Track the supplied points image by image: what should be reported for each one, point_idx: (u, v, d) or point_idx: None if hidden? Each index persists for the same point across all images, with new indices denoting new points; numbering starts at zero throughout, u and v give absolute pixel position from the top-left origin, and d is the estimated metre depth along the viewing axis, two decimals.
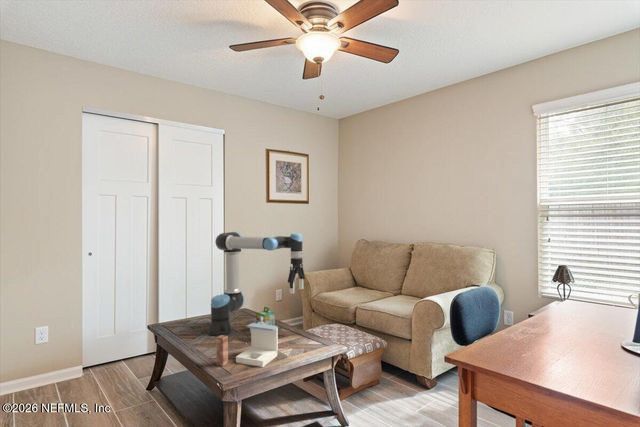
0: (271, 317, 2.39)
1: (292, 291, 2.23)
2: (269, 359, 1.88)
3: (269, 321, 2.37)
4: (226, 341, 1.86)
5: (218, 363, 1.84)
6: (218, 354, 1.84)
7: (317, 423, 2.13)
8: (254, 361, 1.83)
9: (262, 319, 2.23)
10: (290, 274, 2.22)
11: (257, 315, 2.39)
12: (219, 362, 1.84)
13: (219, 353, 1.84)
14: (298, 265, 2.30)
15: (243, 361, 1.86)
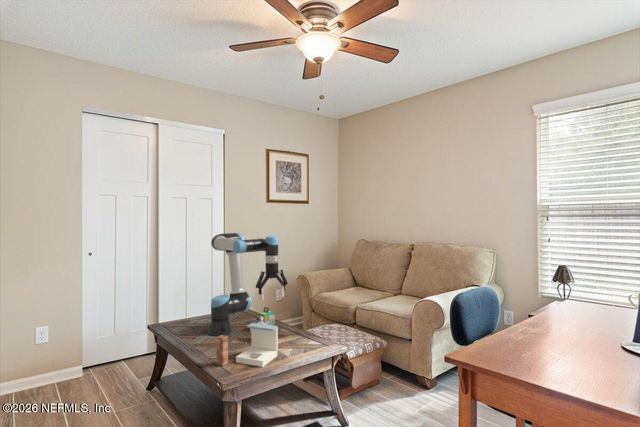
0: (271, 317, 2.39)
1: (261, 298, 2.08)
2: (269, 359, 1.88)
3: (269, 321, 2.37)
4: (226, 341, 1.86)
5: (218, 363, 1.84)
6: (218, 354, 1.84)
7: (317, 423, 2.13)
8: (254, 361, 1.83)
9: (262, 319, 2.23)
10: (259, 279, 2.08)
11: (257, 315, 2.39)
12: (219, 362, 1.84)
13: (219, 353, 1.84)
14: (273, 270, 2.12)
15: (243, 361, 1.86)
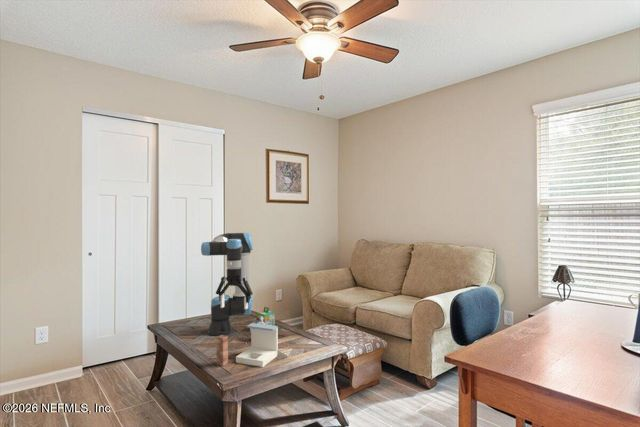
0: (271, 317, 2.39)
1: None
2: (269, 359, 1.88)
3: (269, 321, 2.37)
4: (226, 341, 1.86)
5: (218, 363, 1.84)
6: (218, 354, 1.84)
7: (317, 423, 2.13)
8: (254, 361, 1.83)
9: (262, 319, 2.23)
10: None
11: (257, 315, 2.39)
12: (219, 362, 1.84)
13: (219, 353, 1.84)
14: (234, 277, 1.90)
15: (243, 361, 1.86)
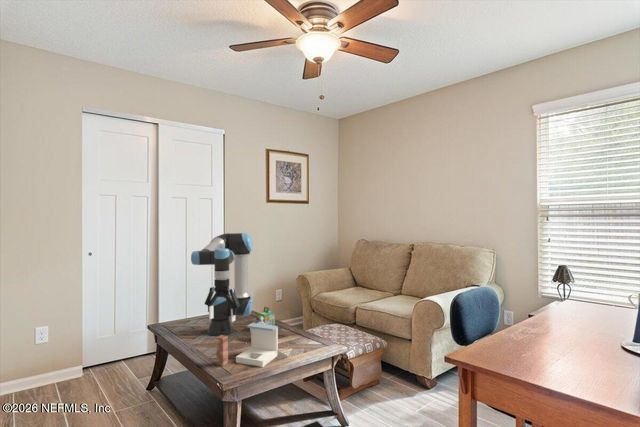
0: (271, 317, 2.39)
1: None
2: (269, 359, 1.88)
3: (269, 321, 2.37)
4: (226, 341, 1.86)
5: (218, 363, 1.84)
6: (218, 354, 1.84)
7: (317, 423, 2.13)
8: (254, 361, 1.83)
9: (262, 319, 2.23)
10: None
11: (257, 315, 2.39)
12: (219, 362, 1.84)
13: (219, 353, 1.84)
14: (221, 288, 1.84)
15: (243, 361, 1.86)
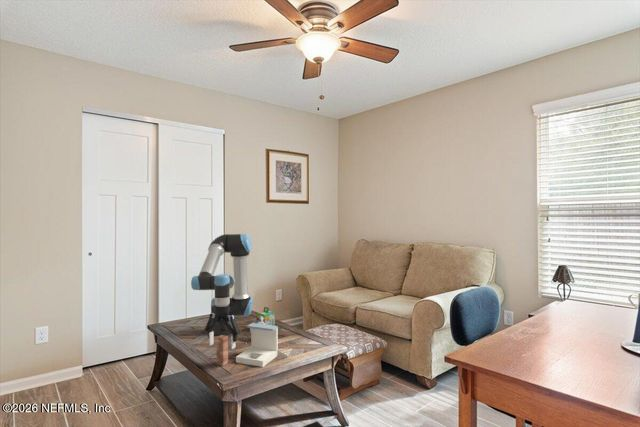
0: (271, 317, 2.39)
1: None
2: (269, 359, 1.88)
3: (269, 321, 2.37)
4: (226, 341, 1.86)
5: (218, 363, 1.84)
6: (218, 354, 1.84)
7: (317, 423, 2.13)
8: (254, 361, 1.83)
9: (262, 319, 2.23)
10: None
11: (257, 315, 2.39)
12: (219, 362, 1.84)
13: (219, 353, 1.84)
14: (221, 315, 1.84)
15: (243, 361, 1.86)
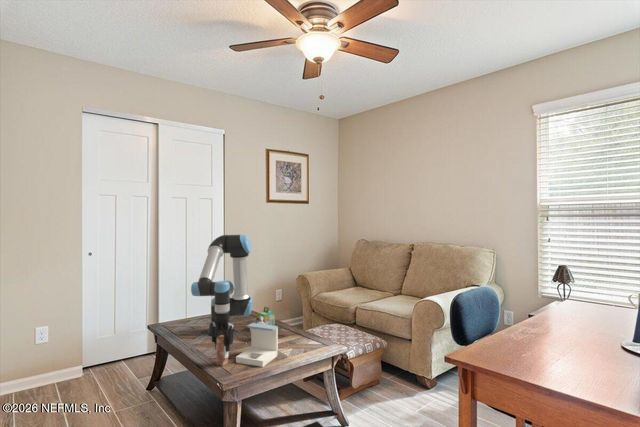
0: (271, 317, 2.39)
1: None
2: (269, 359, 1.88)
3: (269, 321, 2.37)
4: None
5: (218, 363, 1.84)
6: (218, 354, 1.84)
7: (317, 423, 2.13)
8: (254, 361, 1.83)
9: (262, 319, 2.23)
10: None
11: (257, 315, 2.39)
12: (219, 362, 1.84)
13: (219, 353, 1.84)
14: (221, 321, 1.84)
15: (243, 361, 1.86)
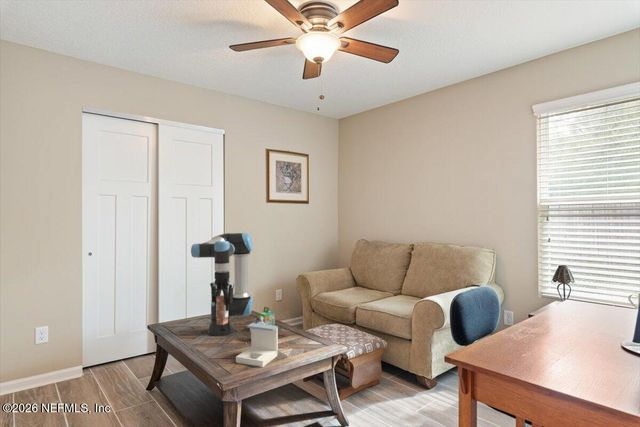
0: (271, 317, 2.39)
1: None
2: (269, 359, 1.88)
3: (269, 321, 2.37)
4: None
5: (218, 322, 1.84)
6: (218, 313, 1.84)
7: (317, 423, 2.13)
8: (254, 361, 1.83)
9: (262, 319, 2.23)
10: None
11: (257, 315, 2.39)
12: (219, 321, 1.84)
13: (219, 312, 1.84)
14: (221, 281, 1.84)
15: (243, 361, 1.86)
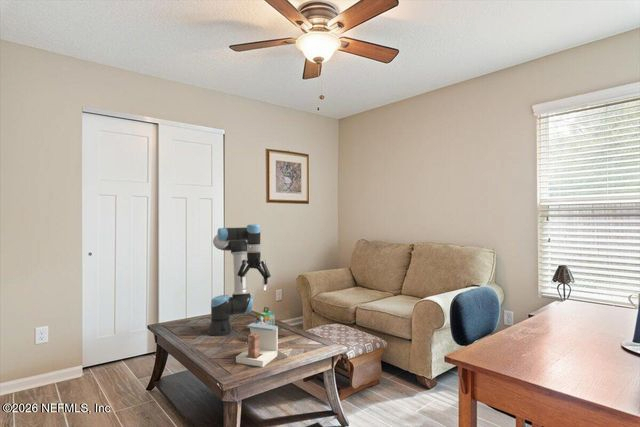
0: (271, 317, 2.39)
1: None
2: (269, 359, 1.88)
3: (268, 321, 2.37)
4: (257, 339, 1.89)
5: None
6: (250, 352, 1.87)
7: (318, 424, 2.12)
8: (254, 361, 1.83)
9: (262, 319, 2.23)
10: None
11: (257, 315, 2.39)
12: None
13: (251, 350, 1.87)
14: (253, 260, 2.02)
15: (243, 361, 1.86)
